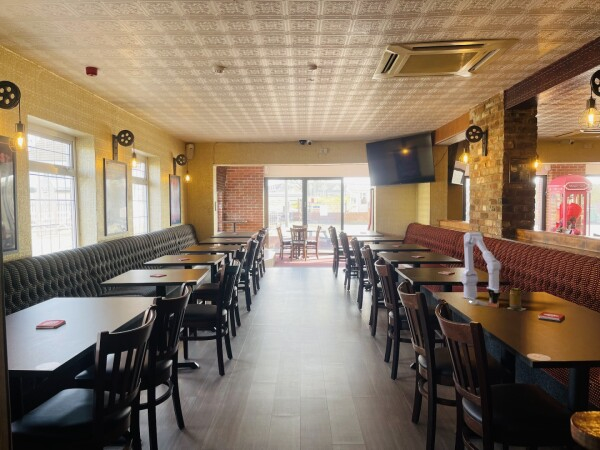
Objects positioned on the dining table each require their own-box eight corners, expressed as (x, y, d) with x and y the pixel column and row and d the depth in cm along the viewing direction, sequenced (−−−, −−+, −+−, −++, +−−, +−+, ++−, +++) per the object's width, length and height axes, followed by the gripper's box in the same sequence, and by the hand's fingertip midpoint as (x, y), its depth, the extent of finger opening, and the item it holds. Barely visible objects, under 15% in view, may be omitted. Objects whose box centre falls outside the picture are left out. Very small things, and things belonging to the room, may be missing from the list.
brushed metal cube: (496, 303, 271) (496, 297, 271) (497, 305, 267) (498, 298, 267) (489, 303, 272) (489, 297, 272) (491, 305, 268) (491, 298, 268)
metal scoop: (466, 304, 271) (466, 297, 271) (470, 302, 277) (470, 295, 277) (496, 308, 260) (496, 301, 259) (500, 306, 265) (500, 299, 265)
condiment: (512, 306, 264) (512, 287, 263) (526, 309, 257) (526, 289, 257) (506, 308, 259) (506, 288, 259) (521, 311, 252) (521, 290, 252)
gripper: (484, 278, 277) (484, 299, 277) (489, 282, 263) (489, 304, 263) (496, 278, 275) (496, 299, 276) (502, 282, 261) (501, 304, 262)
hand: (493, 302), depth 270 cm, fingers open, 7 cm apart
